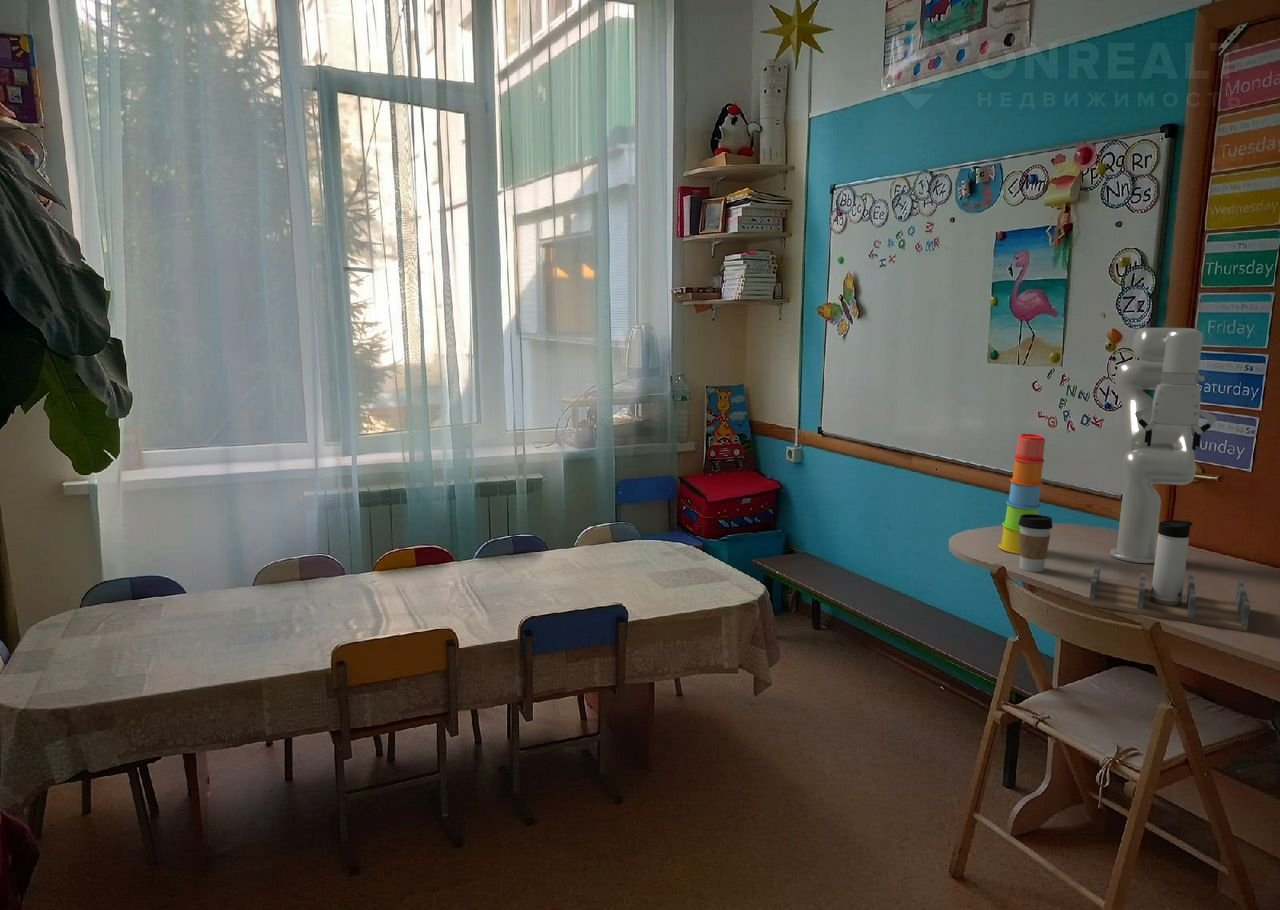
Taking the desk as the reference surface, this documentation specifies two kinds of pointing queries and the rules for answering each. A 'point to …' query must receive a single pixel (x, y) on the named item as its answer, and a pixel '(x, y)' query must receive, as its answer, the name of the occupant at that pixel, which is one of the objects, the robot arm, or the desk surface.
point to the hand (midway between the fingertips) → (1171, 447)
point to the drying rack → (1188, 610)
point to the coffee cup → (1034, 541)
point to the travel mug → (1170, 562)
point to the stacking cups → (1023, 488)
